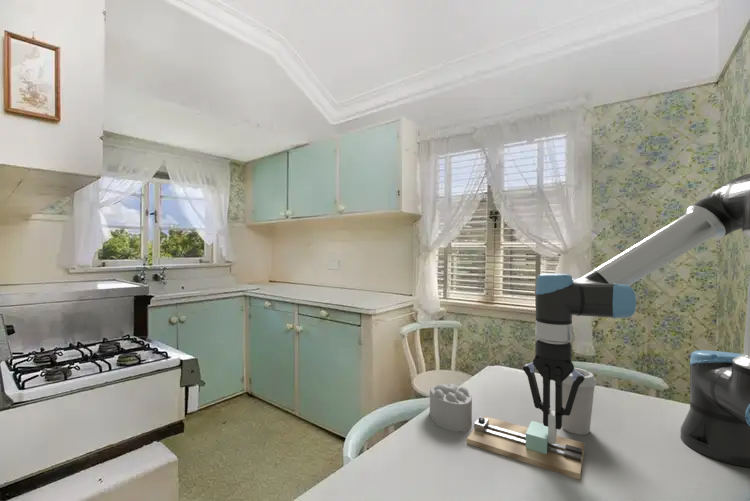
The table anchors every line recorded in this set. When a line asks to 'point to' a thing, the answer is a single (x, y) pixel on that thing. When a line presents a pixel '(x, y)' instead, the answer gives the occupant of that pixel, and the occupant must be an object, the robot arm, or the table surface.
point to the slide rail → (568, 451)
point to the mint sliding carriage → (537, 437)
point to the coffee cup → (579, 404)
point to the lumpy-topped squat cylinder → (451, 407)
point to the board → (524, 454)
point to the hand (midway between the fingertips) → (552, 440)
